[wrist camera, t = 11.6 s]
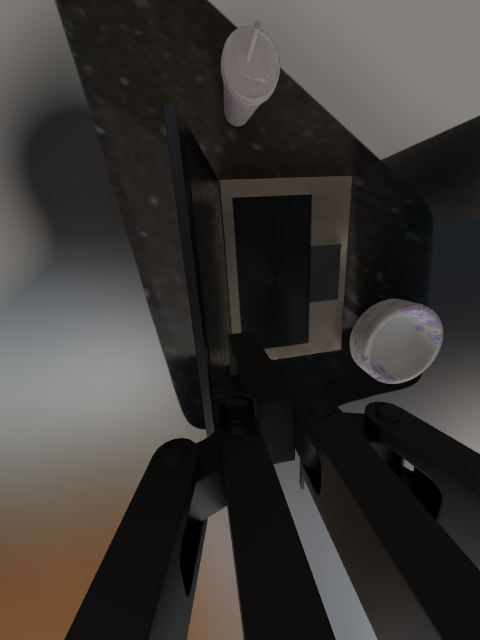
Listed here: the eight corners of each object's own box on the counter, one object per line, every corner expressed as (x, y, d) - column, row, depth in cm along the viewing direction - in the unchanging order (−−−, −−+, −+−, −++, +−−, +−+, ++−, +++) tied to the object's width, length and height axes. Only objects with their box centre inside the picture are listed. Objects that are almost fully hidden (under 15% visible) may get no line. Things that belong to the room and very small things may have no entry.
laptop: (345, 178, 40) (352, 175, 38) (335, 346, 49) (341, 349, 48) (218, 182, 37) (219, 179, 35) (233, 360, 46) (234, 365, 45)
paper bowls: (329, 358, 50) (352, 378, 42) (358, 286, 46) (390, 294, 39) (388, 370, 54) (420, 391, 46) (420, 305, 50) (459, 316, 43)
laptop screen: (176, 102, 15) (162, 103, 16) (219, 466, 25) (210, 466, 25) (219, 179, 35) (213, 180, 35) (234, 365, 45) (229, 365, 45)
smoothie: (229, 71, 33) (252, -42, 20) (267, 105, 35) (310, 23, 22) (205, 116, 34) (212, 37, 21) (243, 147, 36) (271, 92, 23)
